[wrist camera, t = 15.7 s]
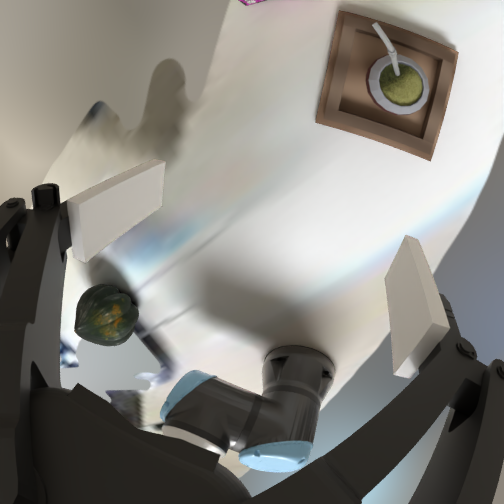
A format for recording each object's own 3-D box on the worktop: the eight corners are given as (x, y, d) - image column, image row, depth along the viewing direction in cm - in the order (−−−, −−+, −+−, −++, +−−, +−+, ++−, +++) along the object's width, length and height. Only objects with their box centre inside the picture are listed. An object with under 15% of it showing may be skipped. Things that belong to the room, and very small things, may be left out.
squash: (149, 347, 64) (95, 348, 51) (112, 344, 71) (63, 343, 58) (148, 285, 67) (95, 276, 54) (112, 290, 74) (63, 283, 61)
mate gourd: (410, 120, 32) (445, 137, 19) (351, 100, 33) (354, 104, 21) (422, 67, 28) (464, 56, 15) (362, 47, 29) (372, 20, 16)
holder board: (428, 159, 34) (434, 165, 32) (315, 121, 37) (313, 124, 34) (456, 53, 25) (463, 50, 23) (339, 12, 28) (338, 6, 25)
